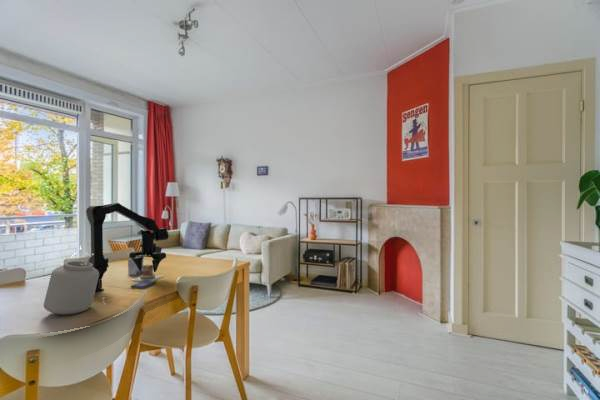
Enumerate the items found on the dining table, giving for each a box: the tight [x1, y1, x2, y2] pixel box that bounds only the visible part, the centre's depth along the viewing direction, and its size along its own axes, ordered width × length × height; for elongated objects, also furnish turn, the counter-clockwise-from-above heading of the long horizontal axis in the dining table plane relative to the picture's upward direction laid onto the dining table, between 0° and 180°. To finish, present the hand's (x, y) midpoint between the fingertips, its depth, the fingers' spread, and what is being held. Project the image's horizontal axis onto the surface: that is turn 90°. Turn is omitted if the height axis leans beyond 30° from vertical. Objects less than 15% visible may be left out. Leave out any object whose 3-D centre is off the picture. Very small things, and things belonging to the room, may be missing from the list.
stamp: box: [139, 264, 156, 279], centre depth 154 cm, size 5×5×7 cm
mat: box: [130, 274, 165, 283], centre depth 154 cm, size 11×11×1 cm
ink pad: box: [130, 280, 158, 290], centre depth 142 cm, size 9×7×1 cm
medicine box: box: [127, 258, 144, 276], centre depth 165 cm, size 8×4×9 cm, turn 179°
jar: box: [43, 245, 106, 315], centre depth 111 cm, size 19×15×25 cm
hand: (147, 271), depth 154 cm, fingers open, 9 cm apart
